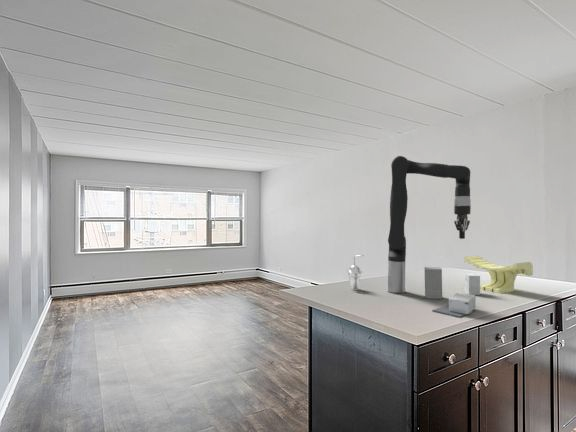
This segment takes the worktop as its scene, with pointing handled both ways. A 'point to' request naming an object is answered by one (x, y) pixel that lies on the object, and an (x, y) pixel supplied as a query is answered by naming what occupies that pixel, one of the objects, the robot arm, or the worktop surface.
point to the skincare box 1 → (433, 282)
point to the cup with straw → (354, 275)
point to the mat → (446, 311)
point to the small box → (472, 284)
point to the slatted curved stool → (500, 273)
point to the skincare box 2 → (462, 303)
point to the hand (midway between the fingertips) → (462, 238)
